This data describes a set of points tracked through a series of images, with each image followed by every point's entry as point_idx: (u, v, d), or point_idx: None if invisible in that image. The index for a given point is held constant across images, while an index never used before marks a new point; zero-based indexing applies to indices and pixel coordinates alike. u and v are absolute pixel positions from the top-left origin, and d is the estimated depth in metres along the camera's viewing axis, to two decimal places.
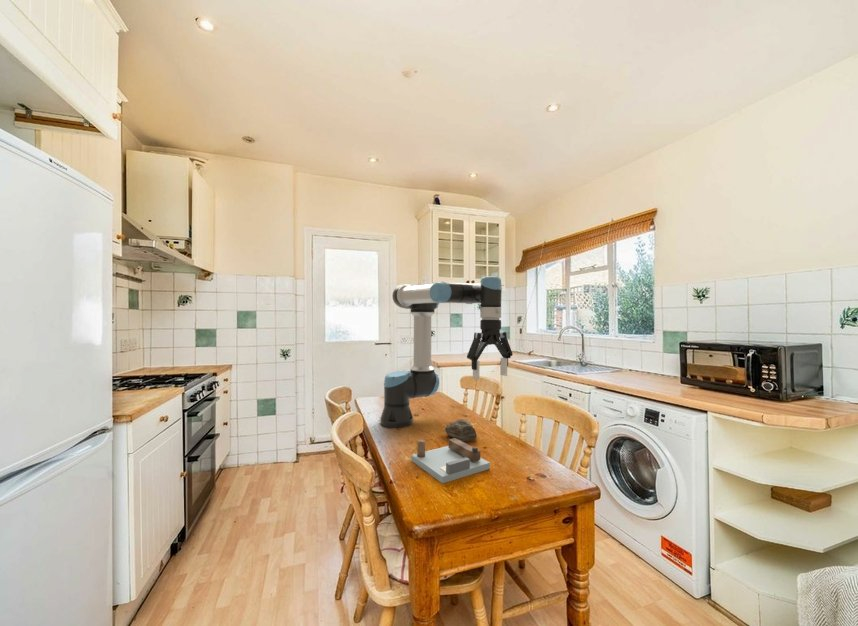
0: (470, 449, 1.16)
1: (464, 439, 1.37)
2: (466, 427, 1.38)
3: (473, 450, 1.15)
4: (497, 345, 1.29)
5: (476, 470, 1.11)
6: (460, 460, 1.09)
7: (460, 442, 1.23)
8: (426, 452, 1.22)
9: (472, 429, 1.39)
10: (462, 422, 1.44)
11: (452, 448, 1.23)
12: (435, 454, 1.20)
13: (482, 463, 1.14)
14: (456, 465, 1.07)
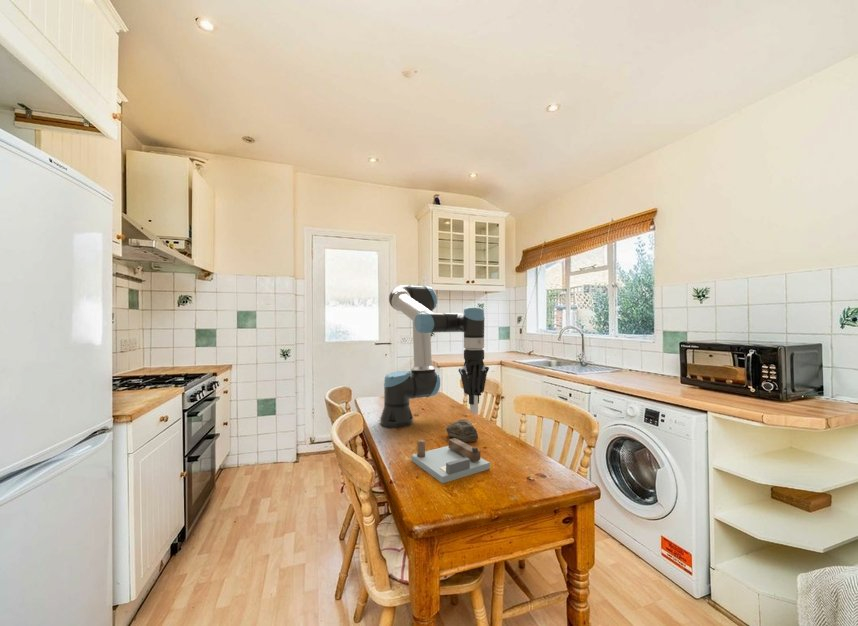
0: (470, 449, 1.16)
1: (465, 439, 1.37)
2: (467, 427, 1.37)
3: (473, 450, 1.15)
4: (475, 376, 1.29)
5: (476, 470, 1.11)
6: (460, 460, 1.09)
7: (460, 442, 1.23)
8: (426, 452, 1.22)
9: (473, 429, 1.39)
10: (463, 422, 1.43)
11: (452, 448, 1.23)
12: (435, 454, 1.20)
13: (482, 463, 1.14)
14: (456, 465, 1.07)
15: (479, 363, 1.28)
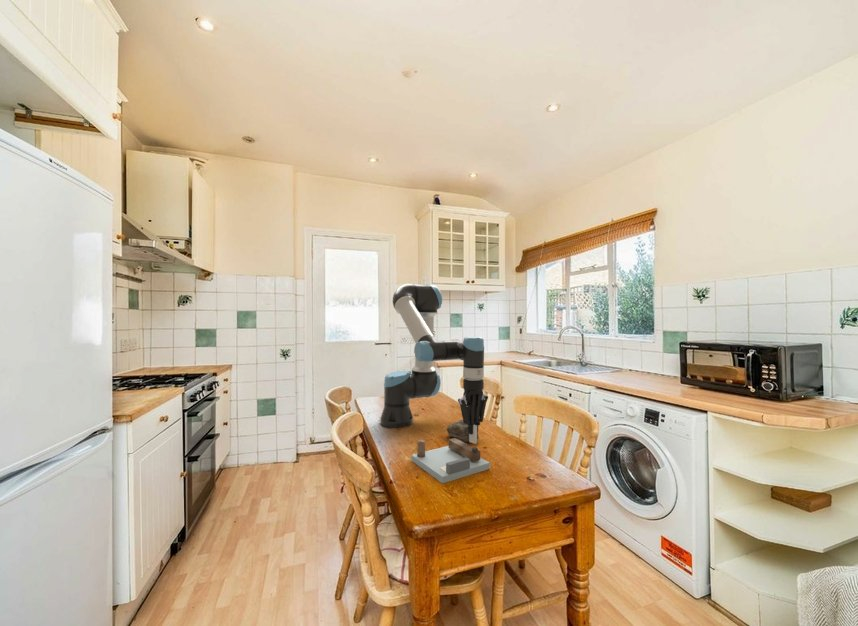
0: (470, 449, 1.16)
1: (466, 440, 1.36)
2: None
3: (473, 450, 1.15)
4: None
5: (476, 470, 1.11)
6: (460, 460, 1.09)
7: (460, 442, 1.23)
8: (426, 452, 1.22)
9: None
10: None
11: (452, 448, 1.23)
12: (435, 454, 1.20)
13: (482, 463, 1.14)
14: (456, 465, 1.07)
15: (478, 393, 1.28)
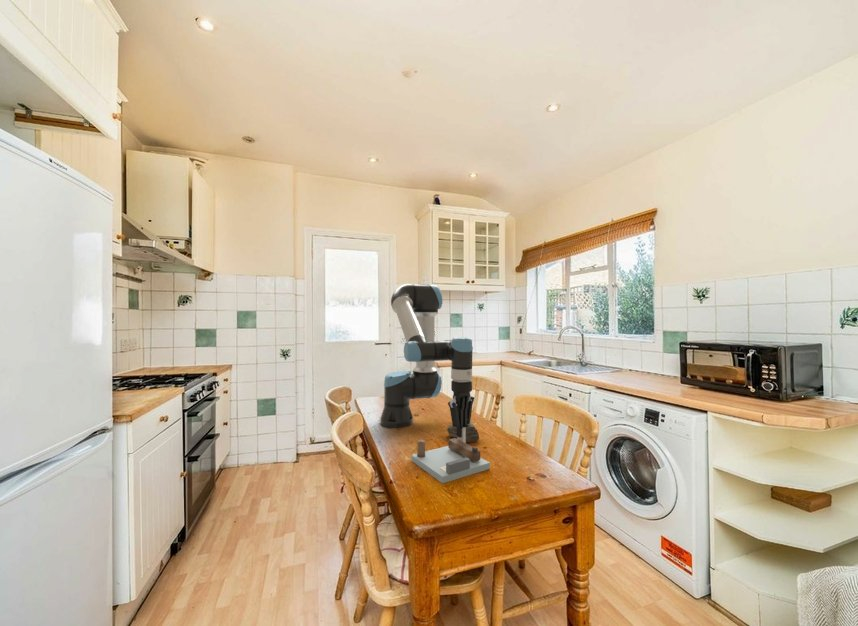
0: (470, 449, 1.16)
1: (466, 440, 1.36)
2: (468, 428, 1.37)
3: (473, 450, 1.15)
4: None
5: (476, 470, 1.11)
6: (460, 460, 1.09)
7: (460, 442, 1.23)
8: (426, 452, 1.22)
9: (474, 430, 1.38)
10: None
11: (452, 448, 1.23)
12: (435, 454, 1.20)
13: (482, 463, 1.14)
14: (456, 465, 1.07)
15: (466, 394, 1.26)
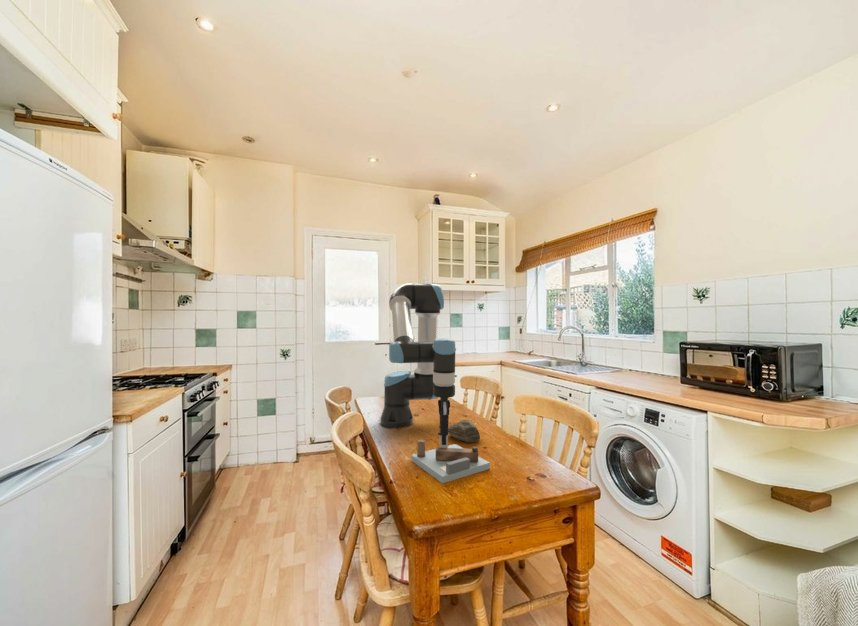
0: (469, 451, 1.15)
1: (467, 440, 1.36)
2: (469, 428, 1.37)
3: (475, 450, 1.14)
4: None
5: (476, 470, 1.11)
6: (460, 460, 1.09)
7: (449, 449, 1.17)
8: (426, 452, 1.22)
9: (475, 430, 1.38)
10: (465, 423, 1.43)
11: (442, 458, 1.15)
12: (435, 454, 1.20)
13: (482, 463, 1.14)
14: (456, 465, 1.07)
15: None
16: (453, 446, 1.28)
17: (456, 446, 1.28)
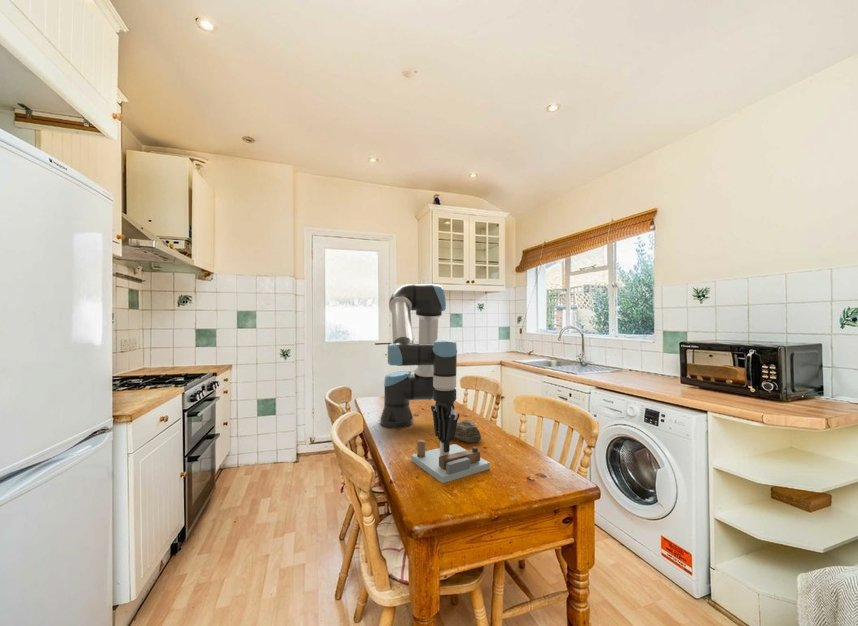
0: (471, 452, 1.14)
1: (468, 440, 1.36)
2: (470, 428, 1.36)
3: (477, 450, 1.15)
4: None
5: (476, 470, 1.11)
6: (460, 460, 1.09)
7: (452, 455, 1.12)
8: (426, 452, 1.22)
9: (476, 430, 1.37)
10: (466, 423, 1.42)
11: None
12: (435, 454, 1.20)
13: (482, 463, 1.14)
14: (456, 465, 1.07)
15: None
16: (453, 446, 1.28)
17: (456, 446, 1.28)
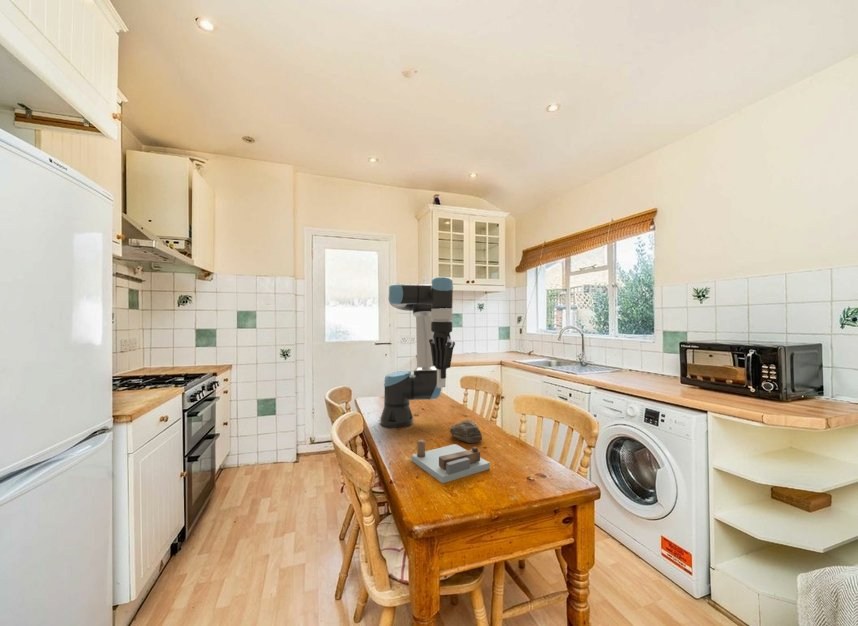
0: (471, 452, 1.14)
1: (469, 441, 1.35)
2: (471, 429, 1.36)
3: (477, 450, 1.15)
4: (440, 349, 1.24)
5: (476, 470, 1.11)
6: (460, 460, 1.09)
7: (452, 455, 1.12)
8: (426, 452, 1.22)
9: (477, 431, 1.37)
10: (467, 423, 1.42)
11: None
12: (435, 454, 1.20)
13: (482, 463, 1.14)
14: (456, 465, 1.07)
15: None
16: (453, 446, 1.28)
17: (456, 446, 1.28)
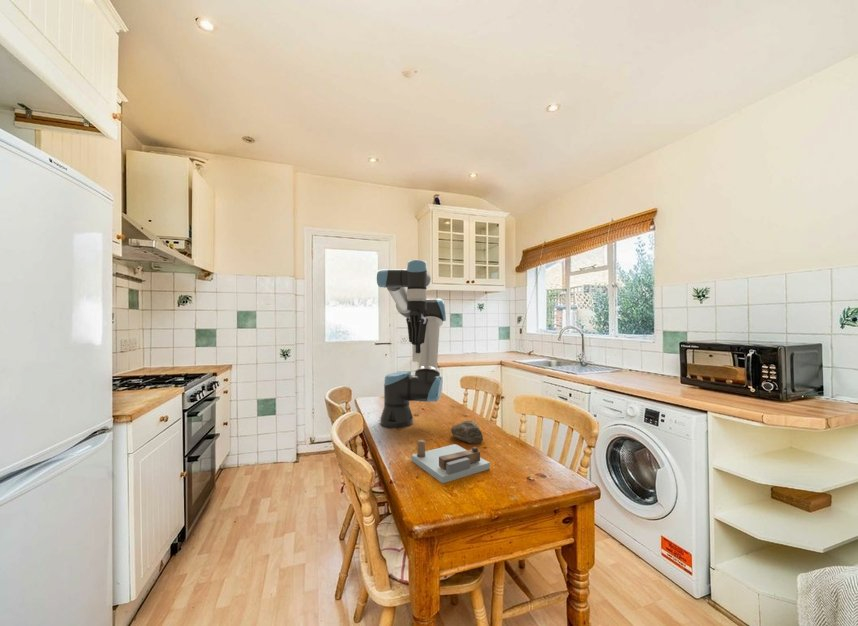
0: (471, 452, 1.14)
1: (470, 441, 1.35)
2: (472, 429, 1.36)
3: (477, 450, 1.15)
4: None
5: (476, 470, 1.11)
6: (460, 460, 1.09)
7: (452, 455, 1.12)
8: (426, 452, 1.22)
9: (478, 431, 1.37)
10: (468, 424, 1.42)
11: None
12: (435, 454, 1.20)
13: (482, 463, 1.14)
14: (456, 465, 1.07)
15: None
16: (453, 446, 1.28)
17: (456, 446, 1.28)
